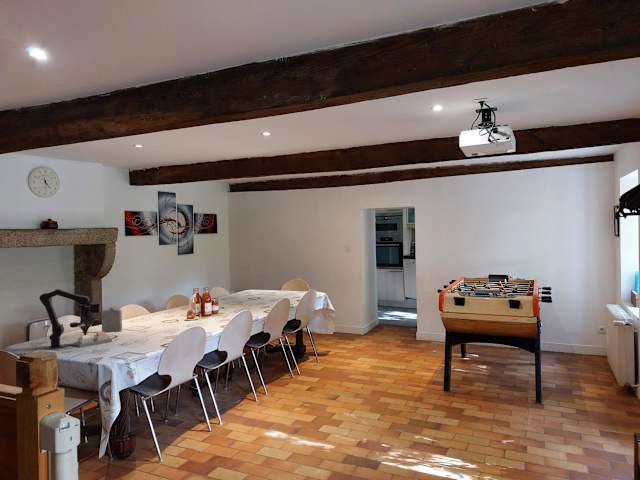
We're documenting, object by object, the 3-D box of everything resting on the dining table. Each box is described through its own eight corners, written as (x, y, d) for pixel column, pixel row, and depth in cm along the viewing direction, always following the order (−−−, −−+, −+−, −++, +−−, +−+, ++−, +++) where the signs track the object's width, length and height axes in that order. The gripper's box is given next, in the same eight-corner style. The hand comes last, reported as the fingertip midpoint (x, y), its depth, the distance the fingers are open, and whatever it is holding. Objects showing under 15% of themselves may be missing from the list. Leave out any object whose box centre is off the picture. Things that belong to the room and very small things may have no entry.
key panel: (74, 344, 324) (74, 337, 324) (105, 339, 340) (105, 332, 340) (80, 347, 316) (80, 340, 316) (112, 341, 332) (111, 335, 332)
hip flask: (101, 332, 365) (100, 307, 365) (103, 331, 369) (102, 307, 369) (121, 331, 366) (120, 307, 366) (123, 330, 370) (122, 306, 370)
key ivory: (80, 339, 324) (80, 335, 324) (87, 338, 328) (87, 334, 328) (82, 340, 321) (82, 336, 320) (90, 339, 324) (90, 335, 324)
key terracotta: (96, 336, 332) (96, 332, 332) (103, 335, 336) (103, 331, 336) (98, 337, 329) (98, 333, 329) (105, 336, 332) (105, 332, 332)
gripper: (74, 316, 311) (75, 339, 312) (102, 313, 325) (103, 334, 325) (69, 314, 319) (69, 336, 319) (96, 311, 333) (96, 332, 333)
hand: (85, 335), depth 324 cm, fingers closed
